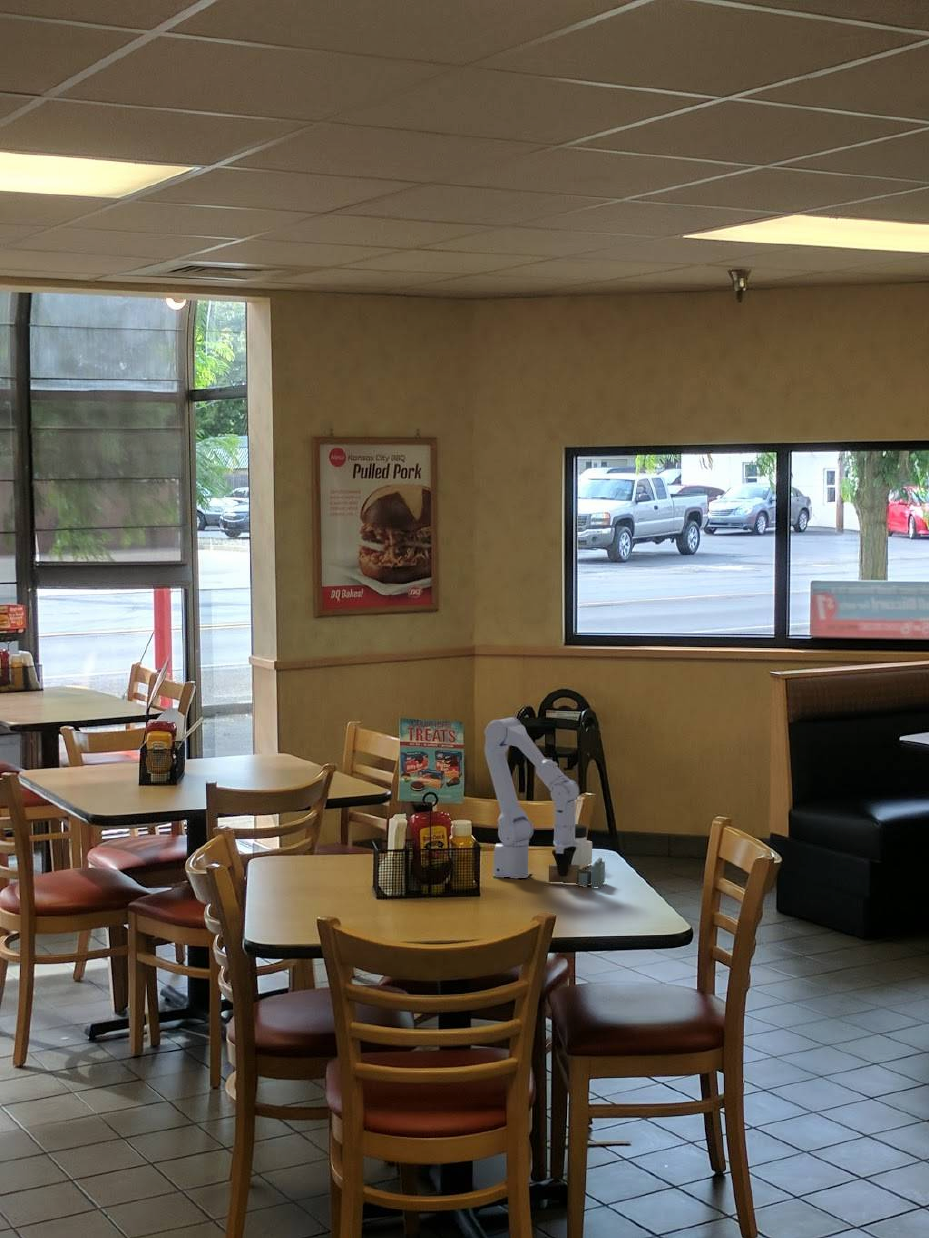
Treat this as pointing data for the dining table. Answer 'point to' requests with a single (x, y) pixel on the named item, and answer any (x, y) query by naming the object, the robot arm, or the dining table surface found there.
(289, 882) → the dining table surface
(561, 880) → the rail
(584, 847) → the medicine bottle
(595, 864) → the grey boxy pieces
